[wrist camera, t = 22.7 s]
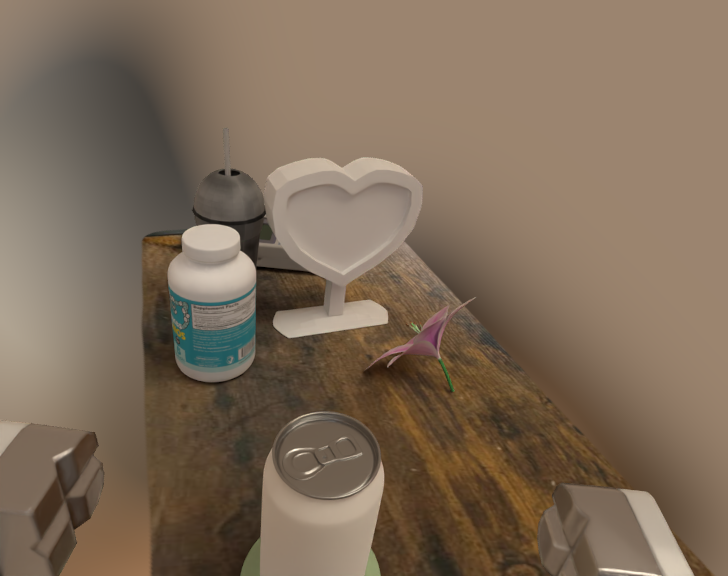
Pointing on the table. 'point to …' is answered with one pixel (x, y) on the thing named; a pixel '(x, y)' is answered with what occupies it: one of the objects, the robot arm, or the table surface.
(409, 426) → the table surface
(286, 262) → the handheld gaming device
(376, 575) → the coaster
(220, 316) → the pill bottle
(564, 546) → the robot arm
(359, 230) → the heart sculpture
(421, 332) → the lily
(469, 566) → the table surface
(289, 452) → the can
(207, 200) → the beverage cup
